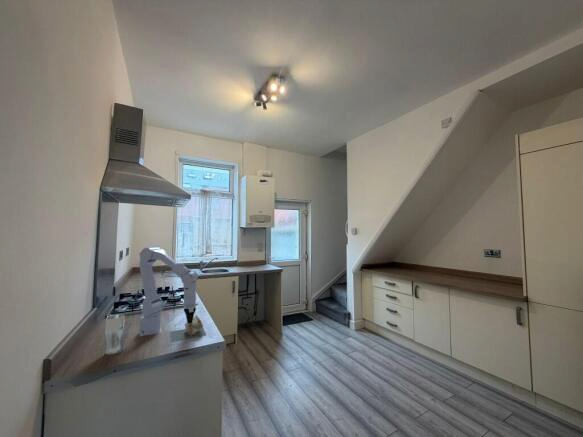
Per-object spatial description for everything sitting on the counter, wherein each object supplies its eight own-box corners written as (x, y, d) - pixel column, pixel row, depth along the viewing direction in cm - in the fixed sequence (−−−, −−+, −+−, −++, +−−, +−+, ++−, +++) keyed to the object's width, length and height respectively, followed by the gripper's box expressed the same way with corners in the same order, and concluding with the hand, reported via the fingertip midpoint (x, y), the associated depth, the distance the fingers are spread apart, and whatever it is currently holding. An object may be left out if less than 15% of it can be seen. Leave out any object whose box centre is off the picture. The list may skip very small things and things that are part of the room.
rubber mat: (170, 343, 114) (170, 342, 114) (169, 332, 126) (169, 331, 126) (206, 336, 121) (206, 335, 122) (202, 326, 134) (202, 326, 134)
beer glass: (108, 357, 102) (110, 320, 102) (101, 352, 105) (102, 317, 106) (127, 350, 107) (128, 315, 108) (119, 346, 111) (120, 312, 112)
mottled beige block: (186, 330, 120) (198, 320, 123) (184, 324, 128) (196, 314, 130) (190, 336, 120) (203, 326, 123) (189, 330, 128) (200, 320, 131)
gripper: (200, 297, 121) (199, 325, 120) (196, 291, 134) (196, 317, 133) (184, 299, 118) (184, 328, 117) (182, 293, 130) (182, 319, 129)
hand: (189, 322), depth 125 cm, fingers closed, pressing on mottled beige block
